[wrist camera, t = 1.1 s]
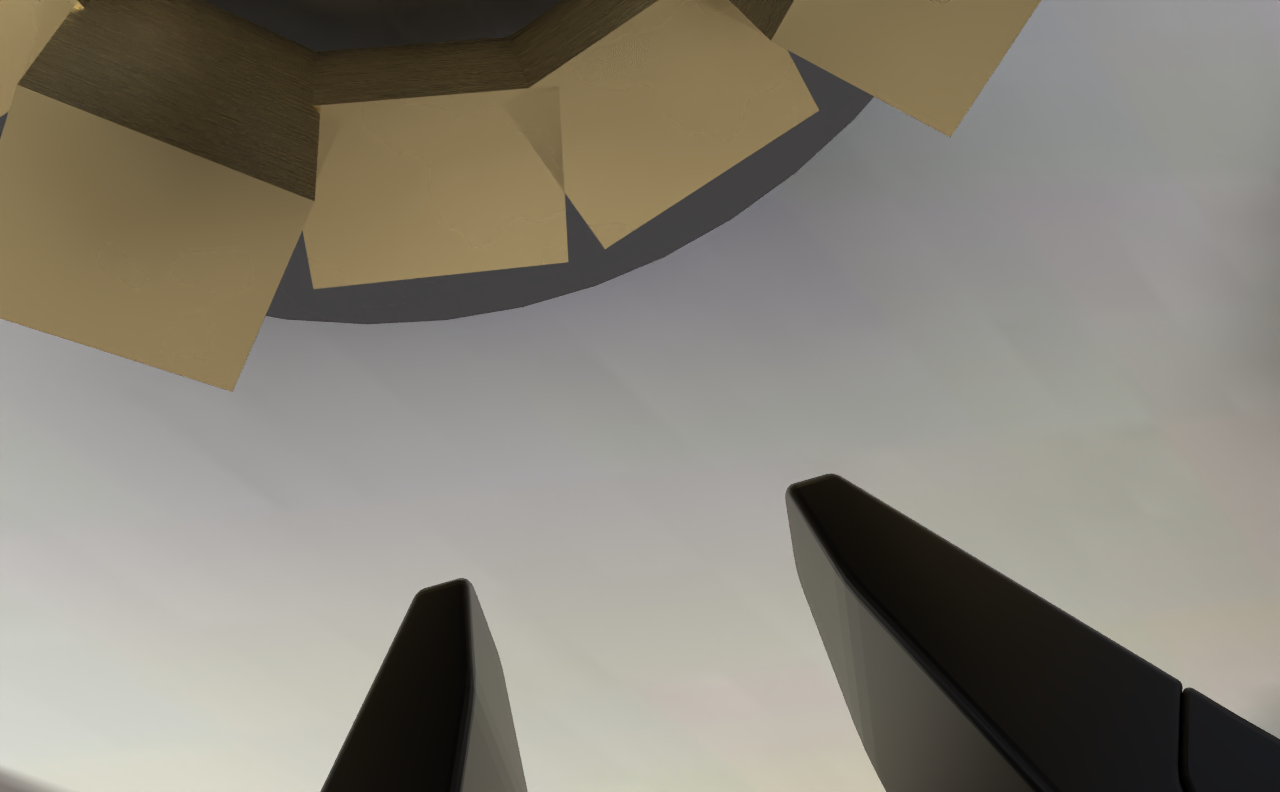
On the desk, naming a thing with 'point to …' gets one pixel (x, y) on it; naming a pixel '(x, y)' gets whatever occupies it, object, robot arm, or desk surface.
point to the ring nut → (398, 145)
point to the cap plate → (498, 7)
